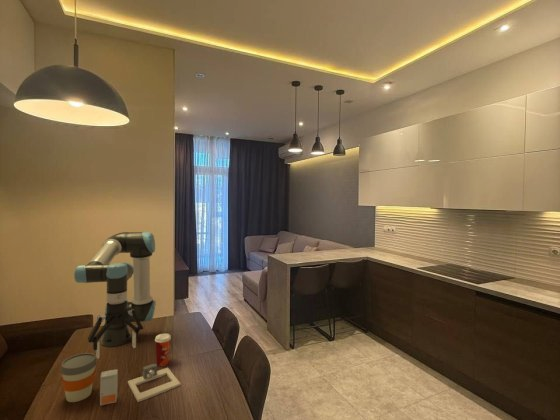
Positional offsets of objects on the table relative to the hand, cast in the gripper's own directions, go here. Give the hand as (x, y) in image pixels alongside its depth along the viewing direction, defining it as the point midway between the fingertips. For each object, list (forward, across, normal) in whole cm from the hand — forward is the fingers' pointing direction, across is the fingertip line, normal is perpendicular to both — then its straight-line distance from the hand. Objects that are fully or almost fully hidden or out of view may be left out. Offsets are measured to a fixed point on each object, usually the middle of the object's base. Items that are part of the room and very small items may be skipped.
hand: (116, 351), depth 124 cm
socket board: (+20, +15, 0) cm, 25 cm away
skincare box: (+20, -3, 0) cm, 20 cm away
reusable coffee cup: (+20, -11, +12) cm, 26 cm away
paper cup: (+20, +25, +14) cm, 35 cm away
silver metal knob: (+18, +15, +5) cm, 24 cm away
